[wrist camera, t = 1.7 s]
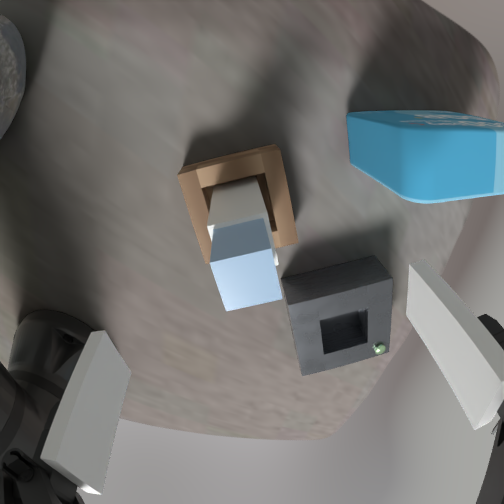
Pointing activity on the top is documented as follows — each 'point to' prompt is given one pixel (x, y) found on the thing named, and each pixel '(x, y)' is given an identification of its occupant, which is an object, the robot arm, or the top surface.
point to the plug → (242, 245)
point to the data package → (429, 153)
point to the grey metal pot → (10, 72)
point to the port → (339, 314)
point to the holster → (234, 168)
